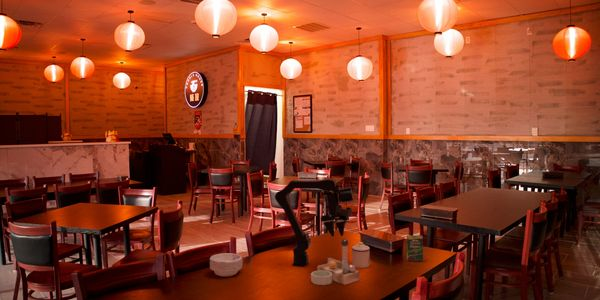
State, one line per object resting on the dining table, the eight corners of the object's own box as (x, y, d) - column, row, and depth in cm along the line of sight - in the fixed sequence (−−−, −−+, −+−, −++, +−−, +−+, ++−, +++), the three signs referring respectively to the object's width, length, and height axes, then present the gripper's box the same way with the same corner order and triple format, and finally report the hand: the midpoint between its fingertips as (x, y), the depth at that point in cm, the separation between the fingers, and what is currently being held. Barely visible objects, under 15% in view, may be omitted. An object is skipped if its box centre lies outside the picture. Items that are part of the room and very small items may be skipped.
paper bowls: (248, 271, 212) (248, 254, 212) (229, 280, 199) (229, 263, 198) (223, 266, 219) (223, 251, 219) (203, 275, 206) (202, 259, 206)
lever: (319, 265, 206) (319, 233, 205) (331, 262, 211) (331, 231, 210) (345, 274, 193) (345, 240, 192) (356, 271, 198) (356, 237, 197)
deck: (317, 274, 207) (317, 265, 206) (332, 270, 212) (331, 262, 212) (344, 284, 193) (344, 275, 192) (359, 280, 198) (359, 271, 198)
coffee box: (407, 261, 226) (407, 236, 225) (406, 259, 229) (406, 234, 228) (423, 261, 225) (423, 236, 224) (422, 260, 228) (422, 235, 227)
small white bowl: (308, 283, 194) (308, 275, 194) (315, 277, 203) (315, 269, 203) (328, 286, 191) (328, 278, 191) (334, 279, 200) (334, 271, 199)
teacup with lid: (372, 267, 216) (372, 244, 216) (355, 269, 214) (355, 245, 214) (363, 260, 228) (363, 238, 227) (347, 261, 226) (347, 239, 225)
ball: (327, 269, 202) (327, 261, 202) (329, 266, 205) (329, 259, 205) (334, 269, 201) (334, 262, 200) (337, 267, 204) (337, 260, 204)
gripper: (338, 200, 204) (343, 234, 201) (356, 201, 220) (361, 233, 216) (318, 204, 210) (322, 237, 206) (336, 205, 225) (341, 236, 222)
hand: (337, 236), depth 213 cm, fingers open, 9 cm apart
